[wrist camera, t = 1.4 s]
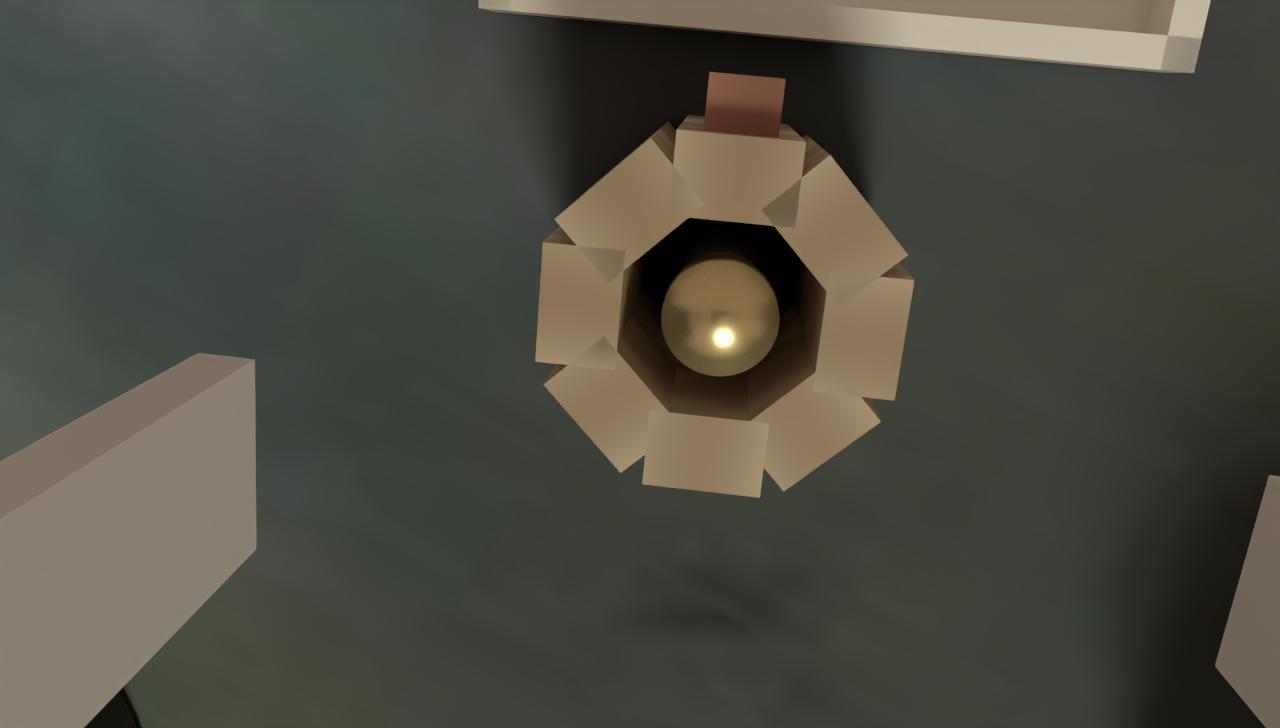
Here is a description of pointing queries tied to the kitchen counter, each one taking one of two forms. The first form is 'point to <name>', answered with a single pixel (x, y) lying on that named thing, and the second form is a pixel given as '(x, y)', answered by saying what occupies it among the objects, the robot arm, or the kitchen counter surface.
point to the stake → (720, 307)
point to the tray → (931, 25)
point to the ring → (808, 331)
